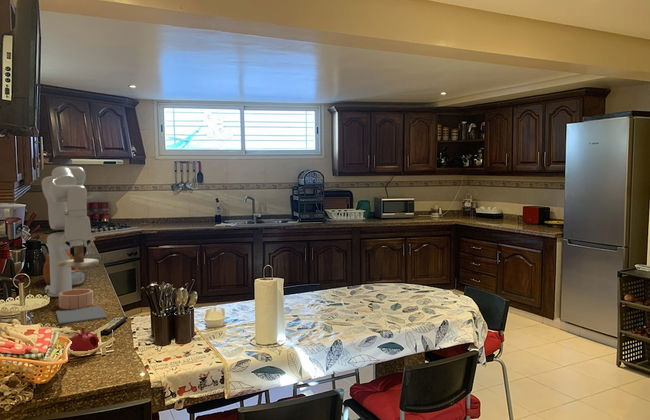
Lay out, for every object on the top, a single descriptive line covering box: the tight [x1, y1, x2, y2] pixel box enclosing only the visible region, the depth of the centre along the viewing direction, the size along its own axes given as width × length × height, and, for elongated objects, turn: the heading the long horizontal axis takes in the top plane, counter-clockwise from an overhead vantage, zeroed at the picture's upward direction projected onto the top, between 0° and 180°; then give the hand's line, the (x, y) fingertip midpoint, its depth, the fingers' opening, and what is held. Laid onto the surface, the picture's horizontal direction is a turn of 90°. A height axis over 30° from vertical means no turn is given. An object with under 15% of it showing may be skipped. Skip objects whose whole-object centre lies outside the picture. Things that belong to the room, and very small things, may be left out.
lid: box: [58, 245, 100, 268], centre depth 214 cm, size 16×16×8 cm
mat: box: [55, 305, 108, 325], centre depth 213 cm, size 20×18×1 cm
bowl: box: [58, 288, 94, 310], centre depth 229 cm, size 14×14×6 cm
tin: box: [71, 269, 87, 287], centre depth 268 cm, size 15×3×8 cm, turn 141°
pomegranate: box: [69, 326, 100, 351], centre depth 167 cm, size 10×10×9 cm
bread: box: [42, 250, 79, 285], centre depth 282 cm, size 18×22×17 cm
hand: (78, 255), depth 214 cm, fingers closed on lid, 3 cm apart
